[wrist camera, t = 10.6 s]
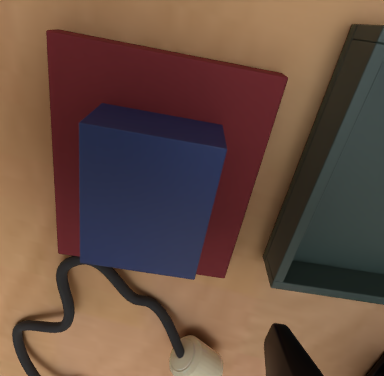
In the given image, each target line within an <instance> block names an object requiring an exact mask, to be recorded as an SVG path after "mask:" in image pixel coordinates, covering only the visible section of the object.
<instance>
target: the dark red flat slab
mask: <svg viewBox="0 0 384 376" xmlns="http://www.w3.org/2000/svg"><path fill="white" fill-rule="evenodd" d="M46 35H47V53H48V72H49V91H50V109H51V128H52V146H53V165H54V184H55V202H56V221H57V239H58V253H59V254H65V255H72V256H79V257H80V213H79V122H80V121H81V120H83V119H84V118H85V117H86V116H87V115H89V114H90V113H91V112H92V111H93V110H94V109H96V108H97V107H98V106H99V105H100V104H102V103H105V104H110V105H116V106H121V107H127V108H132V109H138V110H143V111H149V112H154V113H160V114H165V115H171V116H176V117H182V118H187V119H193V120H198V121H204V122H209V123H215V124H220V125H223V130H224V135H225V140H226V145H227V153H226V157H225V161H224V165H223V169H222V173H221V177H220V181H219V185H218V189H217V193H216V196H215V200H214V204H213V208H212V212H211V216H210V220H209V224H208V228H207V232H206V236H205V240H204V244H203V248H202V252H201V256H200V260H199V264H198V268H197V272H196V274H198V275H205V276H212V277H218V278H225V275H226V272H227V269H228V265H229V262H230V259H231V256H232V253H233V250H234V247H235V243H236V240H237V237H238V234H239V231H240V228H241V225H242V221H243V218H244V215H245V212H246V209H247V206H248V203H249V199H250V196H251V193H252V190H253V187H254V184H255V181H256V177H257V174H258V171H259V168H260V165H261V162H262V159H263V155H264V152H265V149H266V146H267V143H268V140H269V137H270V133H271V130H272V127H273V124H274V121H275V118H276V115H277V111H278V108H279V105H280V102H281V99H282V96H283V93H284V89H285V86H286V83H287V80H288V77H286V76H285V75H283V74H282V73H278V72H273V71H268V70H263V69H258V68H252V67H247V66H242V65H237V64H232V63H227V62H222V61H217V60H211V59H206V58H201V57H196V56H191V55H186V54H181V53H176V52H171V51H165V50H160V49H155V48H150V47H145V46H140V45H135V44H130V43H125V42H119V41H114V40H109V39H104V38H99V37H94V36H89V35H84V34H79V33H73V32H68V31H63V30H47V31H46Z"/></svg>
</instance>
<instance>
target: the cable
mask: <svg viewBox="0 0 384 376" xmlns="http://www.w3.org/2000/svg"><path fill="white" fill-rule="evenodd" d="M82 264H85V263H80V257H79V256H71V257H69V258H66V259H65V260H64V261H63V262H61V263H60V265H59V267H58V269H57V273H56V281H57V286H58V290H59V293H60V297H61V300H62V304H63V309H64V317H63V320H62V321H61V322H44V321H33V320H27V321H22V322H19V323H18V324H17V325H16V326H15V327H14V328H13V333H12V337H13V344H14V348H15V351H16V354H17V356H18V359H19V361H20V363H21V365H22V367H23V369H24V370H25V372H26V374H27V375H28V376H41V375H40V374H39V373H38V371H37V370H36V368H35V367H34V365H33V363H32V362H31V360H30V358H29V356H28V354H27V351H26V348H25V345H24V342H23V335H22V331H25V330H32V331H40V332H49V333H57V332H63V331H65V330H67V329H68V328H69V327H70V326H71V324H72V322H73V319H74V302H73V298H72V294H71V291H70V287H69V283H68V277H67V274H68V271H69V269H71V268H72V267H74V266H77V265H82ZM87 265H91V266H93V267H95V268H96V269H98V270H99V271H100V272H102V273H103V274H104V275H105V276H106V277H107V279H108V280H109V281H110V282H111V283H112V284H113V286H114V287H115V288H116V289H117V290H118V292H119V293H120V294H121V295H122V296H123V297H124V298H125V299H126V300H127V301H129V302H131V303H133V304H135V305H141V306H146V307H148V308H150V309H151V310H152V311H154V312H155V314H156V315H157V316H158V317H159V319H160V320H161V322H162V324H163V326H164V327H165V329H166V332H167V334H168V336H169V338H170V341H171V343H172V346H173V349H172V352H171V354H170V360H169V366H170V370H171V372H172V374H173V375H174V376H222V374H223V361H222V358H221V356H220V355H219V354H218V353H217V352H216V351H214V350H213V349H212V348H210V347H209V346H207V345H206V344H205V343H203V342H202V341H201V340H199V339H198V338H196V337H195V336H192V335H187V336H184V337H182V338H181V339H180V337H179V335H178V332H177V330H176V328H175V326H174V324H173V322H172V320H171V318H170V316H169V315H168V313H167V312H166V310H165V309H164V308H163V306H162V305H161V304H160V303H159V302H157V301H156V300H155V299H153V298H151V297H149V296H144V295H138V294H136V293H135V292H133V291H132V290H131V289H130V288H129V287H128V285H127V284H126V283H125V282H124V281H123V279H122V278H121V277H120V276H119V274H118V273H117V272H116V271H115V270H114V269H113V268H112V267H106V266H99V265H92V264H87Z"/></svg>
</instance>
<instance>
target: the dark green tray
mask: <svg viewBox="0 0 384 376" xmlns="http://www.w3.org/2000/svg"><path fill="white" fill-rule="evenodd" d="M263 259H264V263H265V267H266V271H267V275H268V279H269V282H270V286H271V288H276V289H283V290H289V291H296V292H303V293H309V294H316V295H323V296H329V297H336V298H343V299H349V300H356V301H363V302H369V303H376V304H383V305H384V25H364V24H353V25H352V26H351V29H350V31H349V34H348V37H347V39H346V42H345V44H344V47H343V50H342V52H341V55H340V57H339V60H338V63H337V65H336V68H335V70H334V73H333V76H332V78H331V81H330V83H329V86H328V88H327V91H326V94H325V96H324V99H323V101H322V104H321V107H320V109H319V112H318V114H317V117H316V120H315V122H314V125H313V127H312V130H311V133H310V135H309V138H308V140H307V143H306V146H305V148H304V151H303V153H302V156H301V159H300V161H299V164H298V166H297V169H296V171H295V174H294V177H293V179H292V182H291V184H290V187H289V190H288V192H287V195H286V197H285V200H284V203H283V205H282V208H281V210H280V213H279V216H278V218H277V221H276V223H275V226H274V229H273V231H272V234H271V236H270V239H269V241H268V244H267V247H266V249H265V252H264V254H263Z"/></svg>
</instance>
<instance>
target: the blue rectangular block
mask: <svg viewBox="0 0 384 376" xmlns="http://www.w3.org/2000/svg"><path fill="white" fill-rule="evenodd" d="M226 153H227V145H226V140H225V135H224V130H223V125H220V124H215V123H209V122H204V121H198V120H193V119H187V118H182V117H176V116H171V115H165V114H160V113H154V112H149V111H143V110H138V109H132V108H127V107H121V106H116V105H110V104H105V103H102V104H100V105H99V106H98V107H97V108H96V109H94V110H93V111H92V112H91V113H90V114H89V115H87V116H86V117H85V118H84V119H83V120H81V121H80V122H79V213H80V263H85V264H92V265H99V266H106V267H112V268H119V269H126V270H132V271H139V272H146V273H153V274H159V275H166V276H173V277H179V278H186V279H193V280H194V279H195V276H196V272H197V268H198V264H199V260H200V256H201V252H202V248H203V244H204V240H205V236H206V232H207V228H208V224H209V220H210V216H211V212H212V208H213V204H214V200H215V196H216V193H217V189H218V185H219V181H220V177H221V173H222V169H223V165H224V161H225V157H226Z"/></svg>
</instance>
